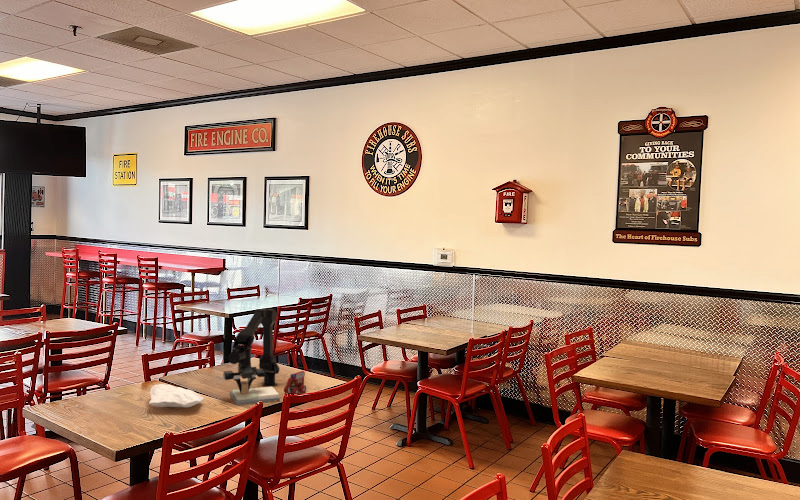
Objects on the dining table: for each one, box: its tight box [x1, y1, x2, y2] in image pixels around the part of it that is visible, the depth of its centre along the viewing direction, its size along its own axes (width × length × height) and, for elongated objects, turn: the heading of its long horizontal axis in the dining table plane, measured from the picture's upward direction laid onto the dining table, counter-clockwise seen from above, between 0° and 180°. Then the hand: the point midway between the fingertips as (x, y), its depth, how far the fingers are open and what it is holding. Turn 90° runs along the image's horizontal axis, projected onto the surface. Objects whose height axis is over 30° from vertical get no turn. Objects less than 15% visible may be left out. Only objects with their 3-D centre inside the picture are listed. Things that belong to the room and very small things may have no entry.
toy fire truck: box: [283, 370, 307, 395], centre depth 306 cm, size 7×12×10 cm, turn 148°
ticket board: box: [229, 386, 281, 406], centre depth 297 cm, size 18×20×3 cm
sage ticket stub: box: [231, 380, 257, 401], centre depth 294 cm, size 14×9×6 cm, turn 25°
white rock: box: [148, 383, 205, 408], centre depth 280 cm, size 24×35×9 cm
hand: (244, 391), depth 294 cm, fingers closed on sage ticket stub, 3 cm apart
